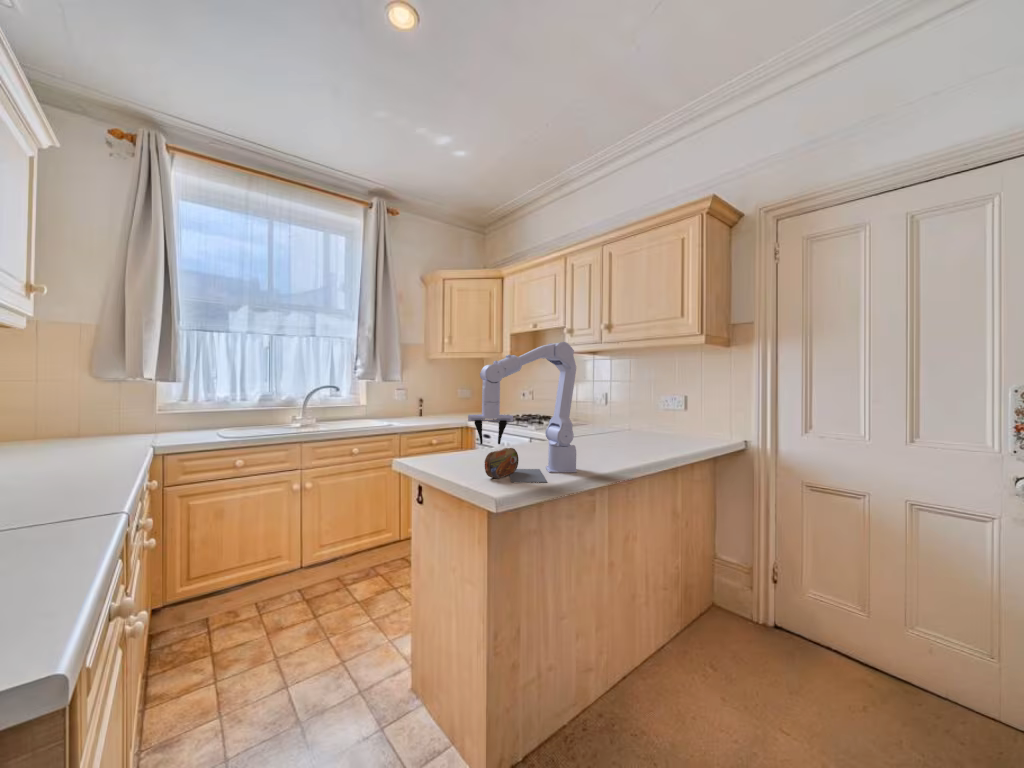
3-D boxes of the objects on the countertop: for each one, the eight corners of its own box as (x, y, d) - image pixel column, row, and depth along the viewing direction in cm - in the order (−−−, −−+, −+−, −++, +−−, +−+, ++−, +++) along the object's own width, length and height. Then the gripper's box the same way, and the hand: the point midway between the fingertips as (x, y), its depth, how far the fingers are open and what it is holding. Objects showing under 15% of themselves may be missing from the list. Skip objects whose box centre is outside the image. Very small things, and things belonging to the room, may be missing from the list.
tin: (490, 481, 127) (490, 453, 127) (483, 479, 129) (482, 452, 128) (519, 471, 139) (519, 446, 139) (512, 469, 141) (511, 445, 140)
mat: (539, 469, 143) (539, 468, 143) (547, 482, 126) (547, 481, 126) (508, 469, 142) (508, 468, 142) (511, 482, 125) (511, 481, 125)
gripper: (512, 401, 137) (511, 441, 138) (468, 400, 136) (468, 441, 137) (514, 402, 130) (513, 445, 131) (468, 402, 129) (467, 445, 130)
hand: (490, 443), depth 133 cm, fingers open, 5 cm apart
